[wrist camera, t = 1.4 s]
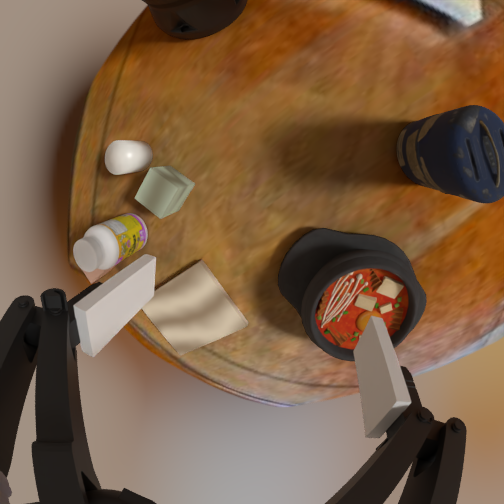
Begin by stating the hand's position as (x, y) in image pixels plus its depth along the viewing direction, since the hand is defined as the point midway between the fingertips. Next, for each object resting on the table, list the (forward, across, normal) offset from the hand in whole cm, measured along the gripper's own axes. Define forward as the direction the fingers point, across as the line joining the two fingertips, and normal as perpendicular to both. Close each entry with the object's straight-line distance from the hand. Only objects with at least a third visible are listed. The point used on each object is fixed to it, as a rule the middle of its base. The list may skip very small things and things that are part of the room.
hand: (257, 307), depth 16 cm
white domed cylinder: (+25, -24, +4) cm, 35 cm away
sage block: (+25, -17, 0) cm, 30 cm away
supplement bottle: (+25, -24, -8) cm, 36 cm away
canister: (+25, +17, +15) cm, 34 cm away
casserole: (+25, +13, -8) cm, 30 cm away
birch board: (+25, -12, -20) cm, 34 cm away
